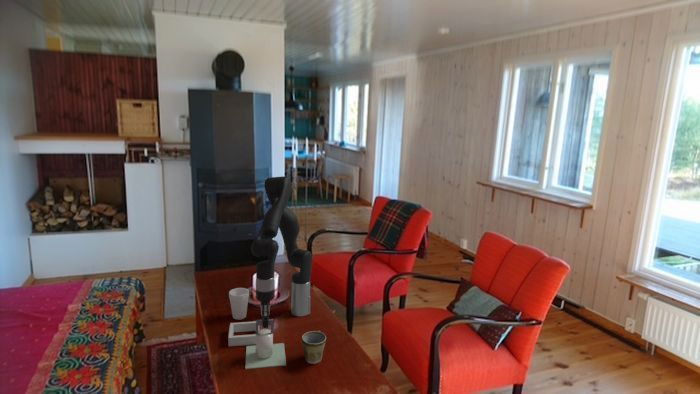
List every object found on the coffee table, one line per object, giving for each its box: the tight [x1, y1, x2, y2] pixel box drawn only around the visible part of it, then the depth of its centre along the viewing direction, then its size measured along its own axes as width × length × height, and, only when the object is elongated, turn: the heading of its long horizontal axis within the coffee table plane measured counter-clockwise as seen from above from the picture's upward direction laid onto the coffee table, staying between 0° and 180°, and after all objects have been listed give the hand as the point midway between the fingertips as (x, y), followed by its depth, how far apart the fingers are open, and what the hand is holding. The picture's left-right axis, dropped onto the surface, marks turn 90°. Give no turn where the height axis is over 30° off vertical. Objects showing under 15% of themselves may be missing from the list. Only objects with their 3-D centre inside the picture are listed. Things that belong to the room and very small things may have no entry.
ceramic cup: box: [301, 329, 327, 365], centre depth 174 cm, size 13×10×10 cm
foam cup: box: [228, 287, 250, 321], centre depth 205 cm, size 10×9×13 cm
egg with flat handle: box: [255, 318, 275, 358], centre depth 173 cm, size 7×7×15 cm
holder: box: [227, 320, 260, 347], centre depth 187 cm, size 13×13×4 cm
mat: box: [244, 342, 287, 370], centre depth 174 cm, size 16×16×1 cm
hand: (265, 326), depth 172 cm, fingers closed on egg with flat handle, 1 cm apart
